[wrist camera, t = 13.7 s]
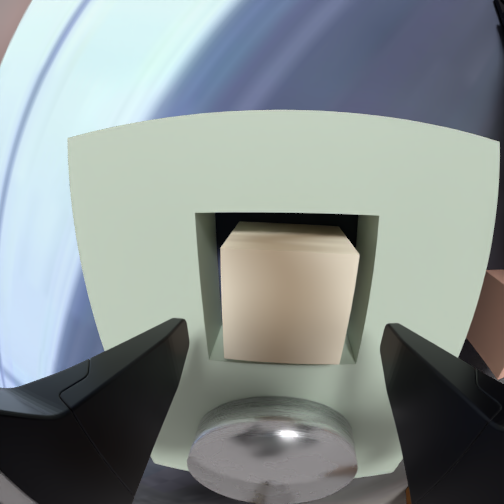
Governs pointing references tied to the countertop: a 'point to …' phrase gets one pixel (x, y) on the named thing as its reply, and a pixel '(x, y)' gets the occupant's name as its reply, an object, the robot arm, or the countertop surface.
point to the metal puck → (273, 450)
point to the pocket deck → (284, 201)
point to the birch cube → (286, 292)
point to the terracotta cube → (490, 323)
